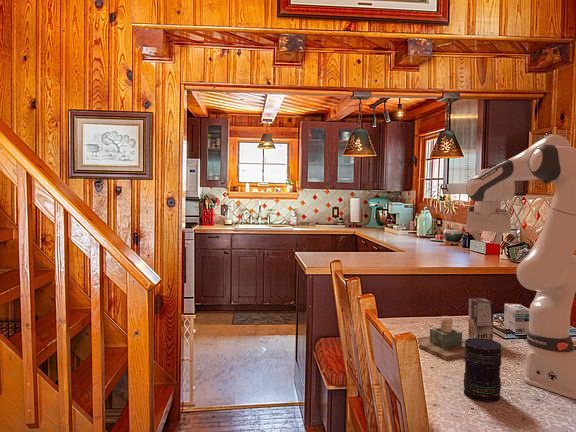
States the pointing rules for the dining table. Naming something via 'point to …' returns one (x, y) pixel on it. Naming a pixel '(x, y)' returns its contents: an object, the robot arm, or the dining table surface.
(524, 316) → the light bulb box
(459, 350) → the holder
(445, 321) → the peg
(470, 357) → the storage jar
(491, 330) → the coffee box
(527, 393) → the dining table surface
